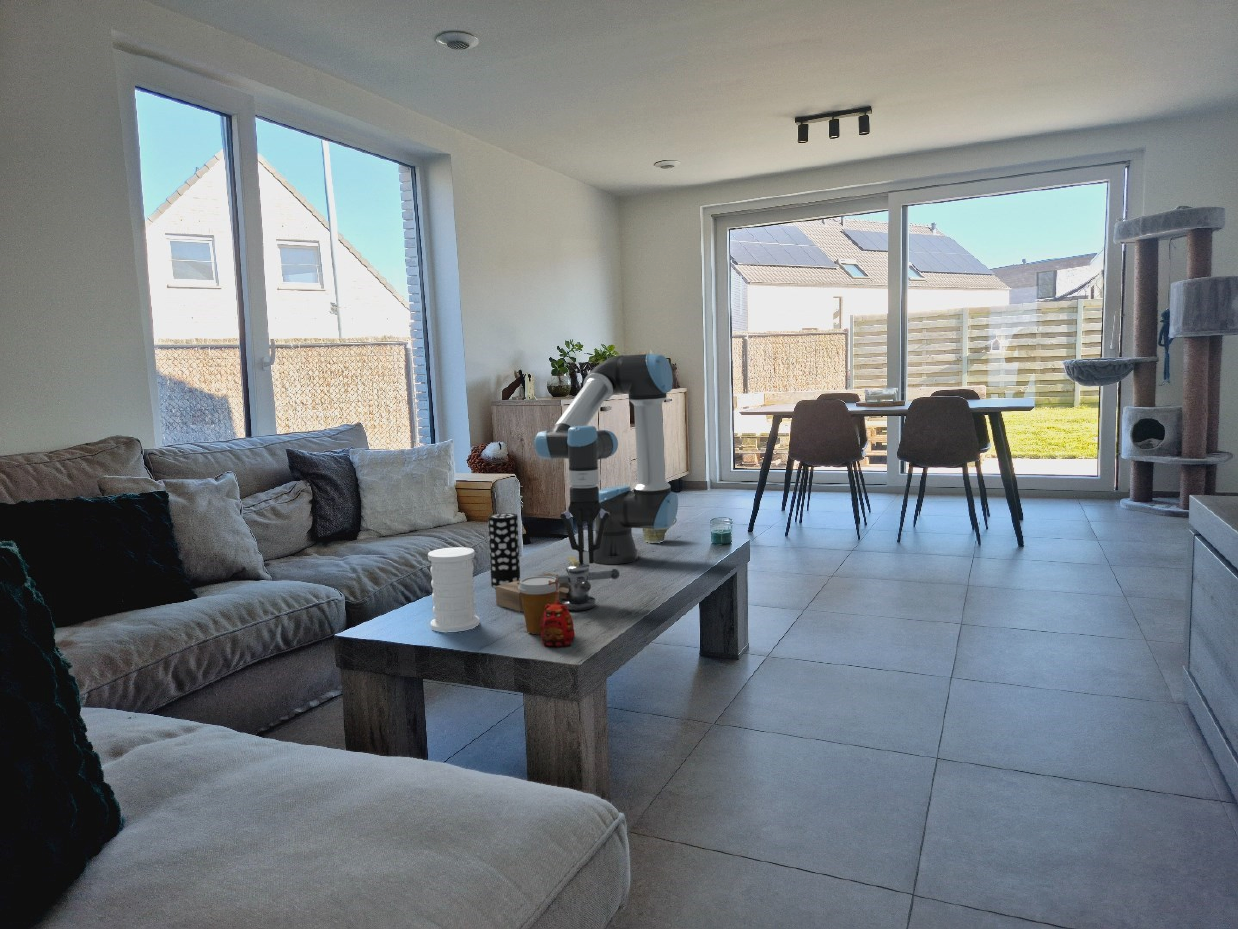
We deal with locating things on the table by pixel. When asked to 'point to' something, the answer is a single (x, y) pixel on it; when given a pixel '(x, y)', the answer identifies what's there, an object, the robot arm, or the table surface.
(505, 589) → the walnut stand
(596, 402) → the robot arm
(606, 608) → the table surface
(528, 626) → the disposable coffee cup
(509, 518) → the spotted tube
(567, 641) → the red clay folk toy
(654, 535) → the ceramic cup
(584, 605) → the capstan
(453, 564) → the decorative container
